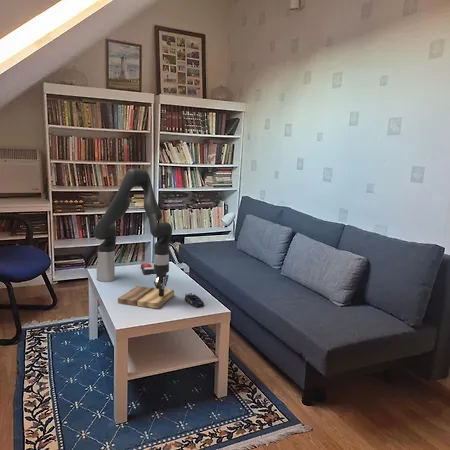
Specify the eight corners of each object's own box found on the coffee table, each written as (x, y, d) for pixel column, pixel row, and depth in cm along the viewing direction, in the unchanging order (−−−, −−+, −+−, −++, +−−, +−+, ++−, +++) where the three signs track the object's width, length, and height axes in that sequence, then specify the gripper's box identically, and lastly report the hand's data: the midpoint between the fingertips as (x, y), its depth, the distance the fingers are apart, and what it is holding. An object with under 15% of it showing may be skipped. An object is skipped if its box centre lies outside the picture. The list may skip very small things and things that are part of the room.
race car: (209, 307, 197) (209, 298, 196) (198, 310, 193) (198, 301, 192) (191, 298, 208) (191, 290, 207) (180, 301, 204) (180, 293, 203)
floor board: (117, 303, 196) (117, 297, 196) (137, 290, 215) (137, 285, 215) (136, 306, 194) (136, 300, 193) (154, 292, 213) (154, 287, 212)
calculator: (157, 262, 259) (162, 267, 245) (157, 268, 260) (161, 274, 246) (140, 263, 256) (143, 268, 242) (140, 269, 256) (144, 275, 242)
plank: (137, 305, 194) (137, 300, 193) (155, 292, 213) (155, 288, 212) (158, 308, 191) (158, 303, 190) (174, 294, 210) (174, 289, 209)
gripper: (160, 258, 205) (160, 291, 208) (148, 265, 192) (148, 299, 195) (173, 260, 203) (173, 292, 206) (162, 266, 190) (162, 301, 193)
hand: (161, 295), depth 200 cm, fingers closed
